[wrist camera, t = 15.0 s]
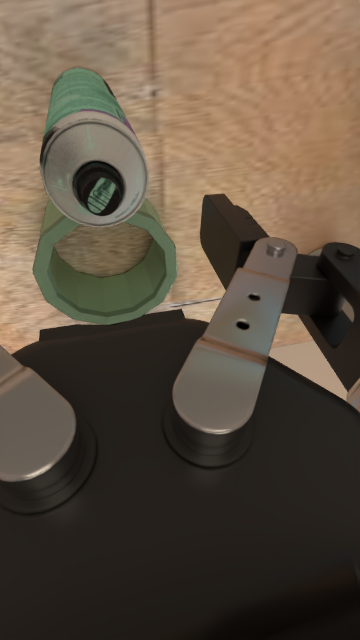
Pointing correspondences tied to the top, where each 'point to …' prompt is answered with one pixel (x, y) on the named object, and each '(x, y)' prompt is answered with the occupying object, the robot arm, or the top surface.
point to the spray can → (91, 153)
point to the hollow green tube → (108, 292)
